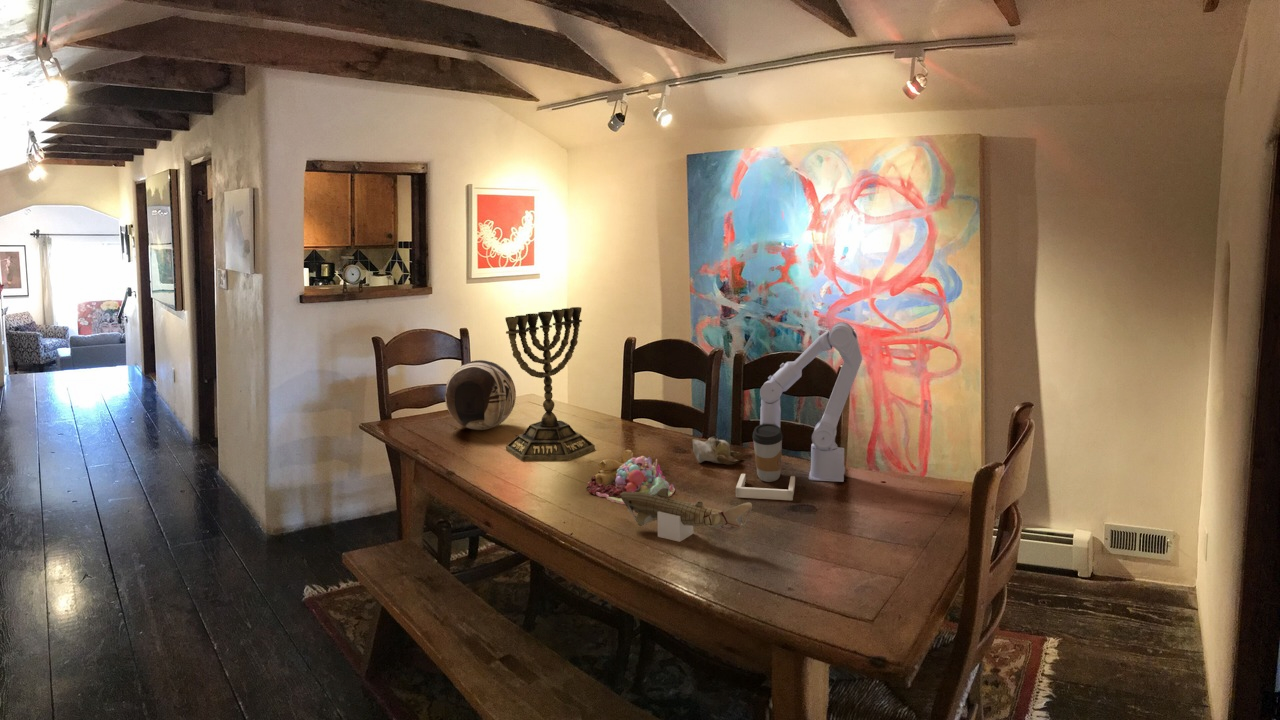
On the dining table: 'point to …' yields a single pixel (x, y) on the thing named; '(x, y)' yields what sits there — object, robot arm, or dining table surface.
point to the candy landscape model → (628, 478)
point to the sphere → (480, 395)
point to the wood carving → (681, 514)
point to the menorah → (547, 388)
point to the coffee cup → (768, 451)
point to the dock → (764, 491)
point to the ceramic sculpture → (714, 451)
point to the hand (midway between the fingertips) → (769, 468)
